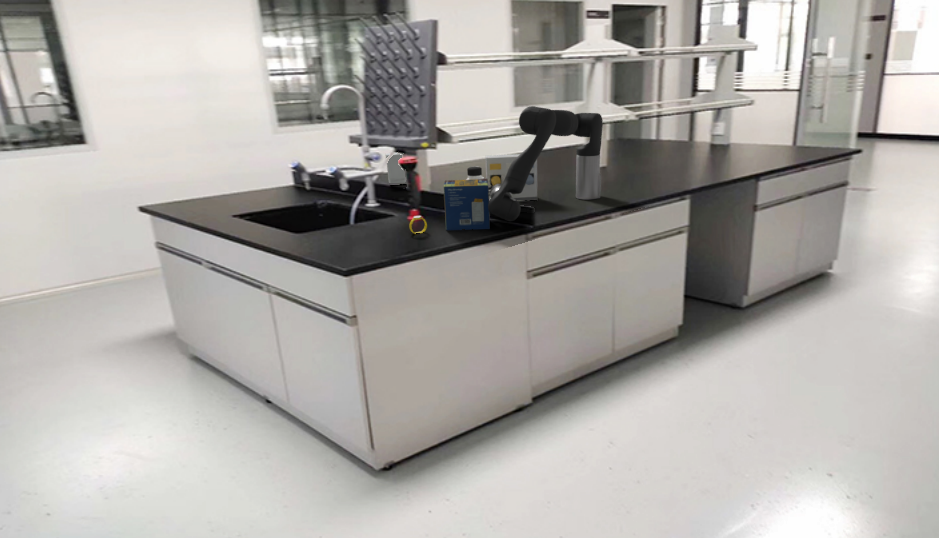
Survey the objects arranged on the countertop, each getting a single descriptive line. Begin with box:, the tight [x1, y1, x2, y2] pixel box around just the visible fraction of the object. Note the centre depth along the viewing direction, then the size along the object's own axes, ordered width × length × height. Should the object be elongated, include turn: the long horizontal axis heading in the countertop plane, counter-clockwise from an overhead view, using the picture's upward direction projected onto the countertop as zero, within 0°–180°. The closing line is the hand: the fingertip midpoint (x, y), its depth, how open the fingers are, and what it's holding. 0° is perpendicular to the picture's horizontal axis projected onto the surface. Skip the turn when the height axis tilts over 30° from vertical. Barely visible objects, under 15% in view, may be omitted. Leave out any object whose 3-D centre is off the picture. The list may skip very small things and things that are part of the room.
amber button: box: [491, 175, 501, 186], centre depth 243 cm, size 4×5×4 cm
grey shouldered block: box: [385, 152, 407, 184], centre depth 287 cm, size 8×6×15 cm
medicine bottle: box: [465, 165, 486, 180], centre depth 260 cm, size 7×7×12 cm
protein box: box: [443, 178, 491, 231], centre depth 213 cm, size 10×15×16 cm
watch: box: [408, 215, 428, 235], centre depth 209 cm, size 6×3×6 cm, turn 116°
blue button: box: [526, 174, 534, 185], centre depth 243 cm, size 4×5×4 cm
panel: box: [485, 153, 538, 201], centre depth 247 cm, size 20×6×18 cm, turn 91°
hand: (497, 186), depth 233 cm, fingers closed
